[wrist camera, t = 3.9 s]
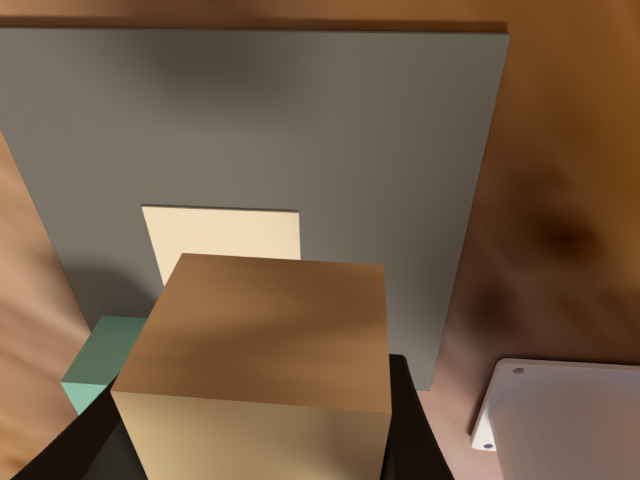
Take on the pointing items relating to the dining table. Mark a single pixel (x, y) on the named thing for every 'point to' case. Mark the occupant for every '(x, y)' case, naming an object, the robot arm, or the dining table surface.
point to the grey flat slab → (253, 156)
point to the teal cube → (101, 358)
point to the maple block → (261, 372)
